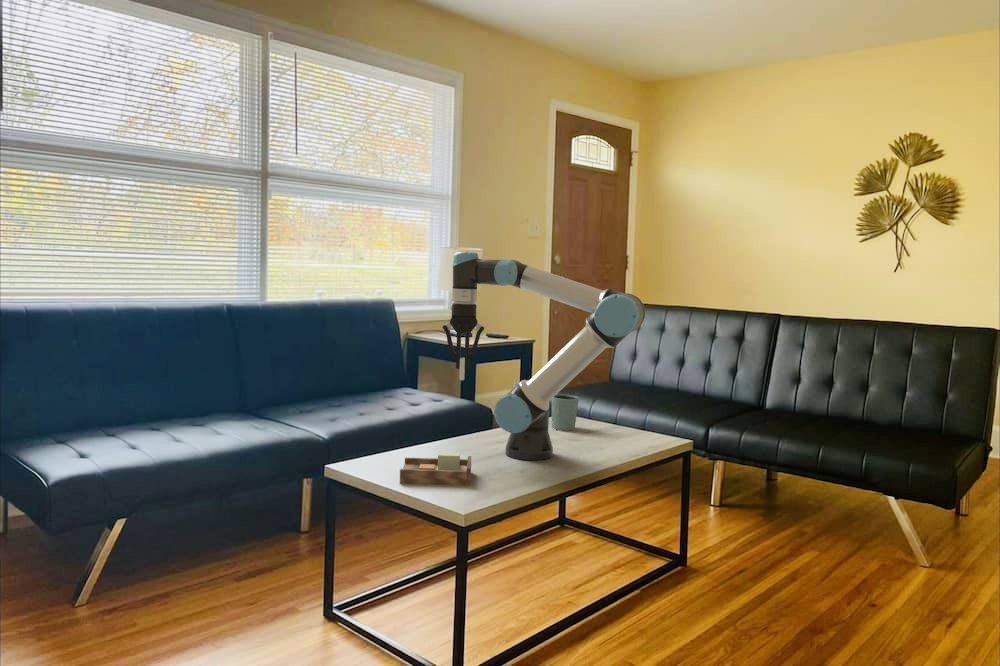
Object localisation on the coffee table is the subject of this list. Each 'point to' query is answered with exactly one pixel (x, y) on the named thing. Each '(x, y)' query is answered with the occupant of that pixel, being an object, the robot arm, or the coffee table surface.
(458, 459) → the sage block
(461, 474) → the wooden tray
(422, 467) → the rust block
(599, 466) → the coffee table surface
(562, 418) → the grey-blue cup
